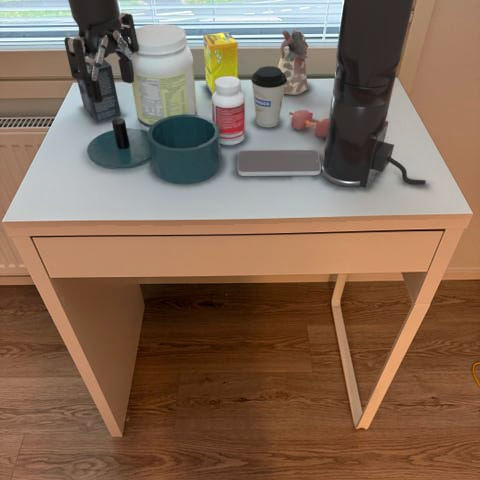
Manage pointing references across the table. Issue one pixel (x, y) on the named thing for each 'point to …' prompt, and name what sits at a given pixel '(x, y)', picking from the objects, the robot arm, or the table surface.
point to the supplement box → (220, 58)
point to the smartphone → (278, 162)
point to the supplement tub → (162, 74)
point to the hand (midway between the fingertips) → (113, 91)
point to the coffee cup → (268, 95)
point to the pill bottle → (229, 110)
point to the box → (109, 95)
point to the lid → (120, 146)
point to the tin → (185, 148)
